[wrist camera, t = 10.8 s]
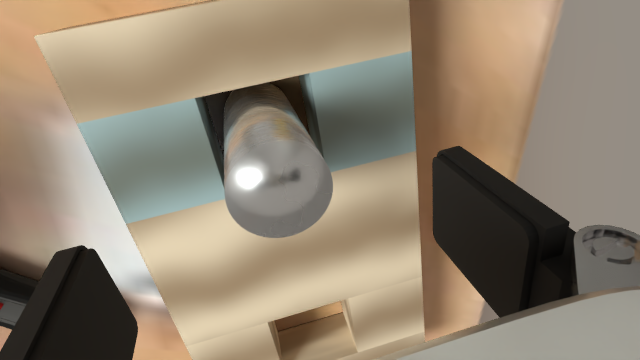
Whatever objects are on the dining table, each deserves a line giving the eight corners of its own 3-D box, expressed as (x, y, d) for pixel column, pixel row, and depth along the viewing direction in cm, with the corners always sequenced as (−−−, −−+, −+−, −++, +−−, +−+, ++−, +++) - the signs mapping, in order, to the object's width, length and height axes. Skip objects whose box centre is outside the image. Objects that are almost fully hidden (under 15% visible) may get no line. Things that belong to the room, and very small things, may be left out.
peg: (214, 89, 22) (210, 157, 13) (283, 74, 22) (323, 129, 13) (233, 153, 24) (240, 249, 15) (297, 137, 24) (340, 222, 15)
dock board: (68, 27, 19) (33, 36, 15) (376, -31, 21) (407, -35, 17) (225, 380, 32) (226, 428, 29) (405, 325, 34) (426, 363, 31)
